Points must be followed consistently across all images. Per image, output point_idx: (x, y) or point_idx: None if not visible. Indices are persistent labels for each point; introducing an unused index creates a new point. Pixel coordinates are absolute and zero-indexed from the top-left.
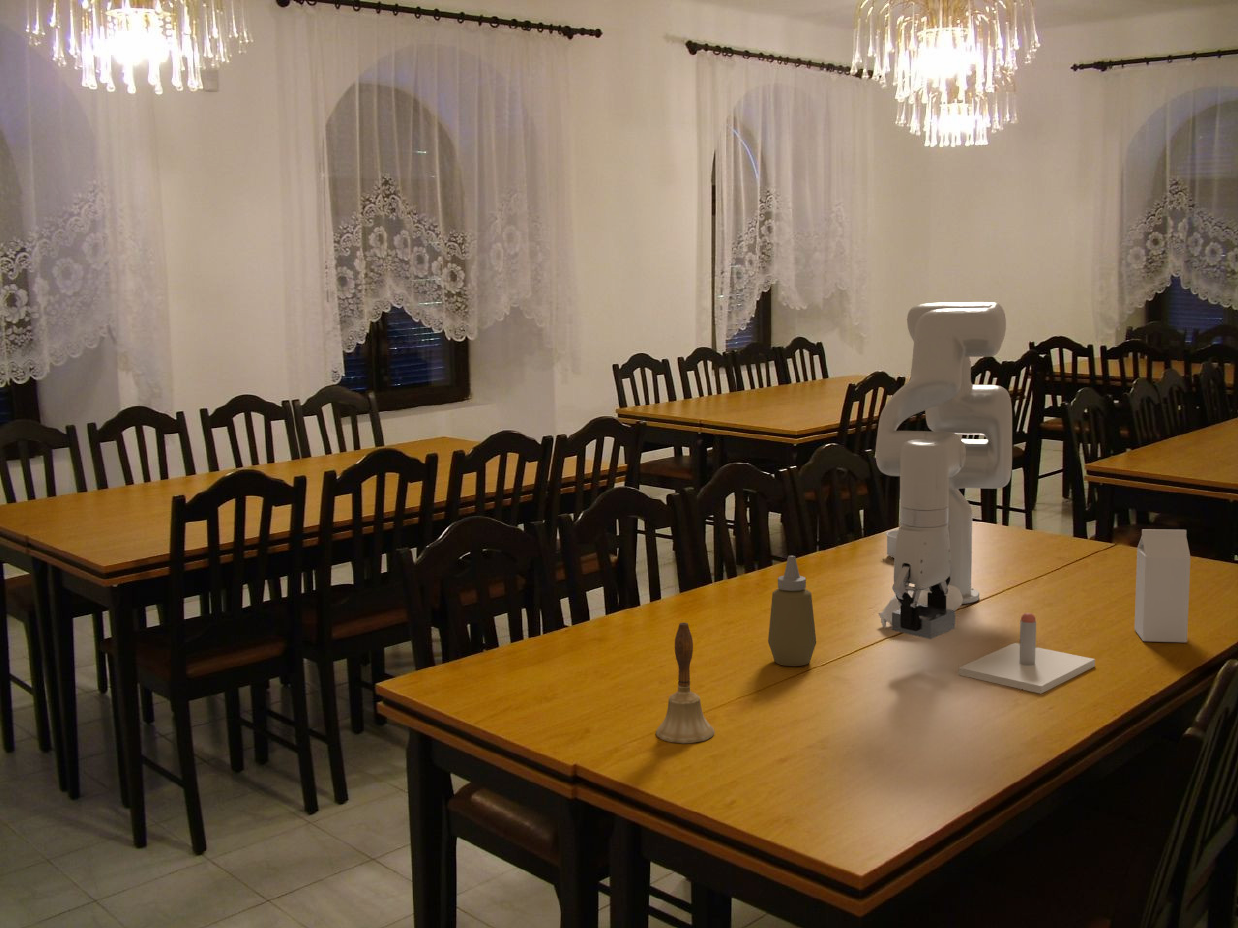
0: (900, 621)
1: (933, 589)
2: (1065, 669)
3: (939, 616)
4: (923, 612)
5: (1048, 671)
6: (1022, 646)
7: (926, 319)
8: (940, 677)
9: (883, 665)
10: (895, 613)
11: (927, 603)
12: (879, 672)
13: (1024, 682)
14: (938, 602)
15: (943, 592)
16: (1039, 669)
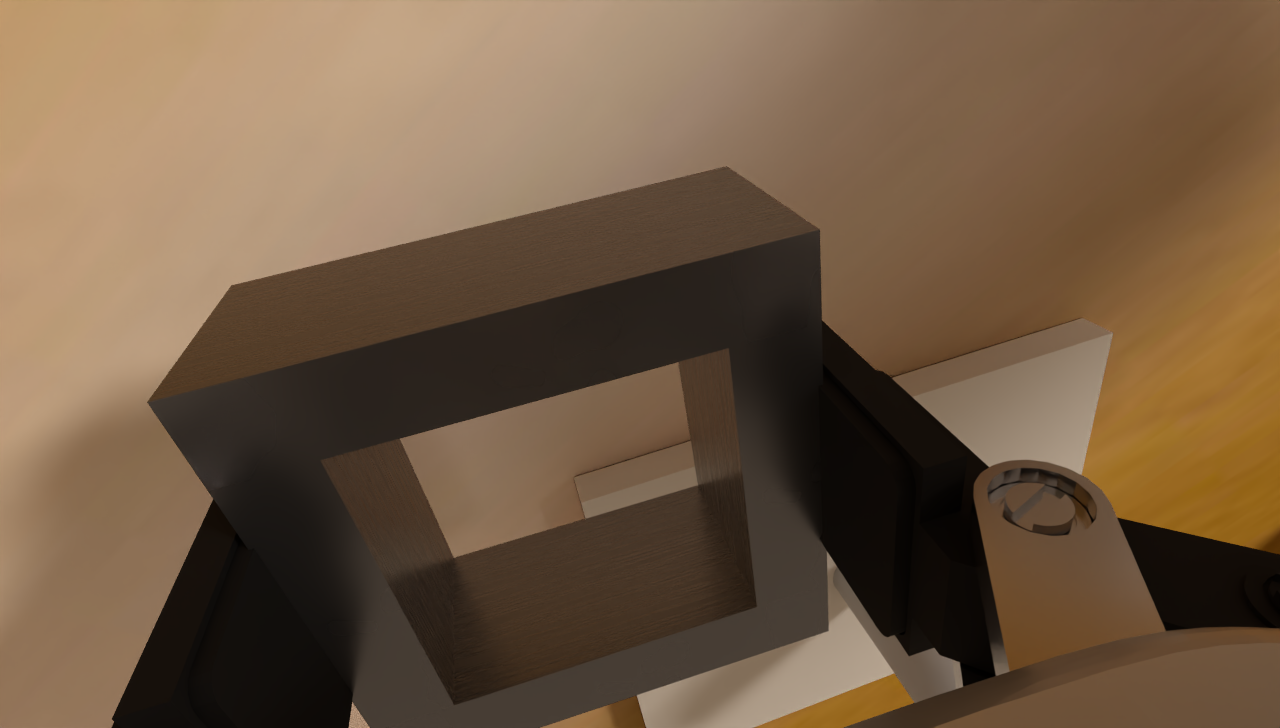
0: (213, 502)
1: (974, 578)
2: (883, 661)
3: (573, 709)
4: (708, 365)
5: (822, 662)
6: (882, 641)
7: None
8: (460, 469)
9: (275, 99)
10: (182, 451)
11: (825, 394)
12: (137, 215)
13: (645, 724)
14: (845, 541)
15: (953, 665)
16: (822, 637)
